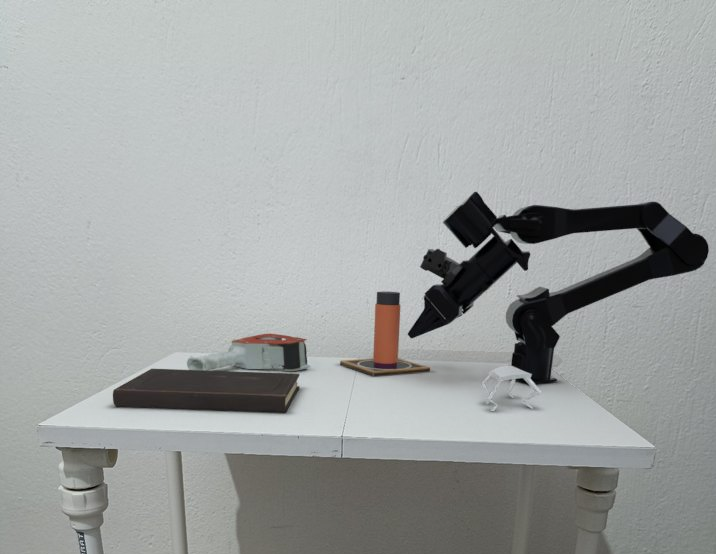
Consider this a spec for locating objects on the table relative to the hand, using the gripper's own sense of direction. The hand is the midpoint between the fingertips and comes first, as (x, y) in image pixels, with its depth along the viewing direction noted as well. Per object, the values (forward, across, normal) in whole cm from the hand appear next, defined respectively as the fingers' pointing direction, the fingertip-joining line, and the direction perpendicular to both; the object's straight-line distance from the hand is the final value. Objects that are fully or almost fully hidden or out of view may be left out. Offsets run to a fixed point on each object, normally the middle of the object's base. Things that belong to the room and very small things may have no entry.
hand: (415, 333), depth 116 cm
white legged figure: (-8, +18, +18) cm, 26 cm away
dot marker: (+8, 0, +1) cm, 8 cm away
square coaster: (+9, -2, +1) cm, 9 cm away
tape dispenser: (+24, +8, -14) cm, 29 cm away
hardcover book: (+21, +32, -11) cm, 39 cm away
